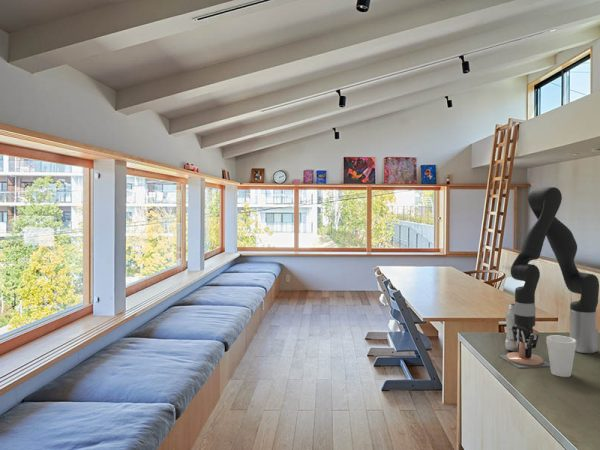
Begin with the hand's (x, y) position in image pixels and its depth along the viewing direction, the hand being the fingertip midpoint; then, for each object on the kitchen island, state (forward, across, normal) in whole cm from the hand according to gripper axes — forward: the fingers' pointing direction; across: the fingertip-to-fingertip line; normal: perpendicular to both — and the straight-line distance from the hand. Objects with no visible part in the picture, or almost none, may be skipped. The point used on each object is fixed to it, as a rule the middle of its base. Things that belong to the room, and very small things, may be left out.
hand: (524, 355), depth 174 cm
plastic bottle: (+3, +12, -3) cm, 13 cm away
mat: (+2, 0, 0) cm, 2 cm away
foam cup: (+3, -14, -5) cm, 15 cm away
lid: (+2, 0, 0) cm, 2 cm away
